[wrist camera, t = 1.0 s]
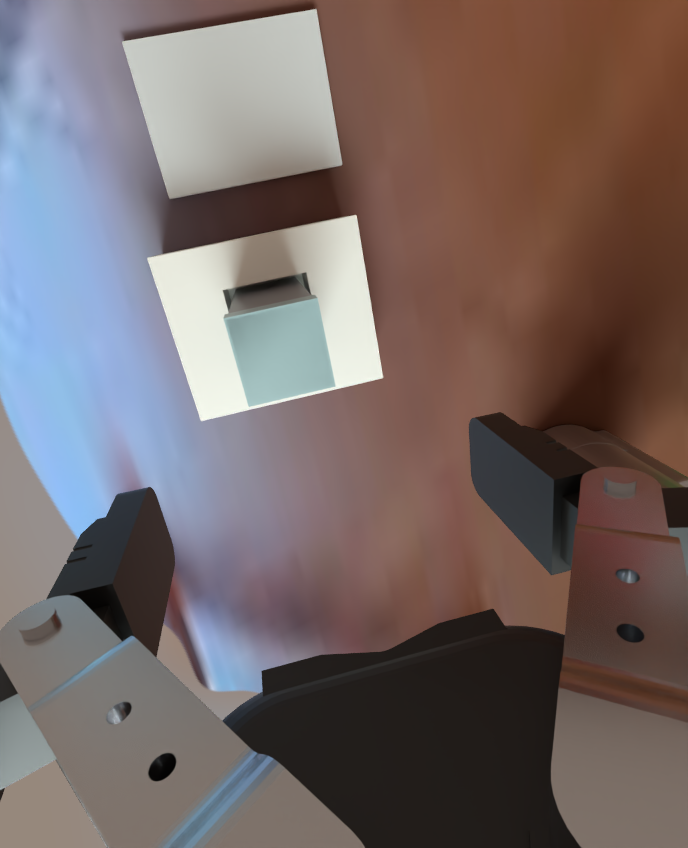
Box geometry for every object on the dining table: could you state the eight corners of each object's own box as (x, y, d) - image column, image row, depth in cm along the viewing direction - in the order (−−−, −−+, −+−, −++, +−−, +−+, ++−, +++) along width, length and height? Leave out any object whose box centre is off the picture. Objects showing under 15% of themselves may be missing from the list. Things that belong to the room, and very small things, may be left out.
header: (342, 217, 33) (356, 214, 28) (366, 359, 37) (383, 378, 32) (162, 253, 32) (147, 258, 27) (208, 396, 36) (201, 421, 31)
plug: (295, 274, 33) (317, 297, 22) (309, 336, 34) (335, 386, 23) (233, 288, 32) (223, 318, 21) (250, 349, 34) (248, 406, 23)
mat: (315, 13, 28) (316, 9, 28) (340, 165, 32) (342, 164, 31) (124, 45, 27) (121, 41, 27) (170, 199, 31) (169, 198, 30)
